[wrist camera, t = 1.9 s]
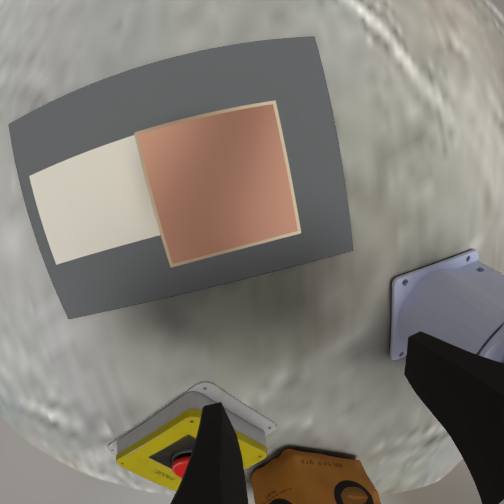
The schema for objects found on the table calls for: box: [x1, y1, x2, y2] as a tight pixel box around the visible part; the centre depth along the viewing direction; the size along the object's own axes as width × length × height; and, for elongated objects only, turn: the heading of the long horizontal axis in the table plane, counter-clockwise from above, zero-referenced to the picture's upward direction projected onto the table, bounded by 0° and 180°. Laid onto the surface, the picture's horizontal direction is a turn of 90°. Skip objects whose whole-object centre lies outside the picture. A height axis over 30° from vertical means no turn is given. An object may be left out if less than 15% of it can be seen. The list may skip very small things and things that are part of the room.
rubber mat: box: [9, 36, 353, 319], centre depth 17 cm, size 20×14×1 cm
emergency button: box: [108, 381, 276, 492], centre depth 23 cm, size 9×4×15 cm
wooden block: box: [134, 100, 301, 268], centre depth 13 cm, size 4×4×9 cm
